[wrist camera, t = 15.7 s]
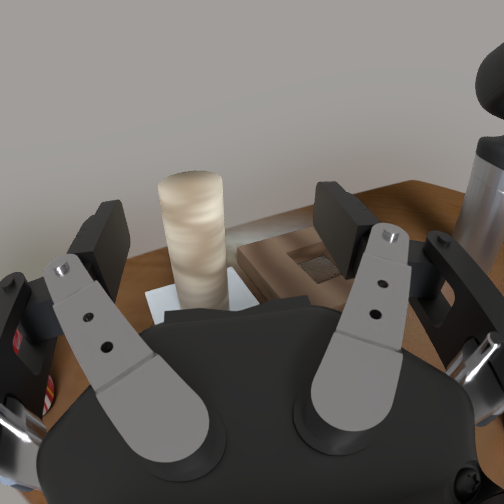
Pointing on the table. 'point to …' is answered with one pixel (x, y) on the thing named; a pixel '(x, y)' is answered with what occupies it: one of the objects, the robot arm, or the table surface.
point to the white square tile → (169, 301)
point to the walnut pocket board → (292, 269)
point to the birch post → (196, 238)
